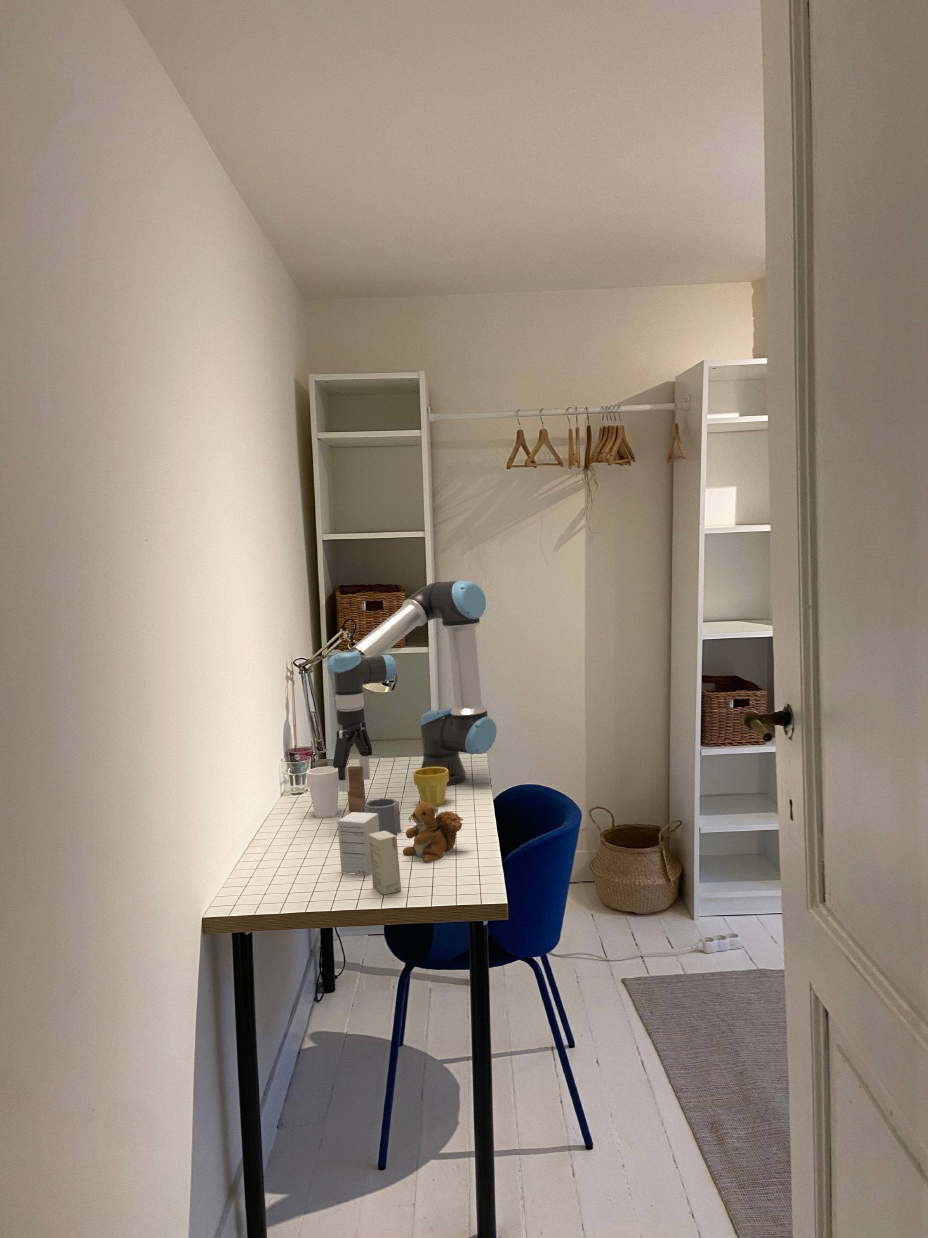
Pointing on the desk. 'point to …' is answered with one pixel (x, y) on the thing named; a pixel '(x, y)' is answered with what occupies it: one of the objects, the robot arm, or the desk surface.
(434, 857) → the stuffed squirrel
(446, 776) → the plant pot
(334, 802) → the foam cup
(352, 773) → the tan wooden beam
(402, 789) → the desk surface
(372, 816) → the supplement box
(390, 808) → the jar
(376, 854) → the skincare box
